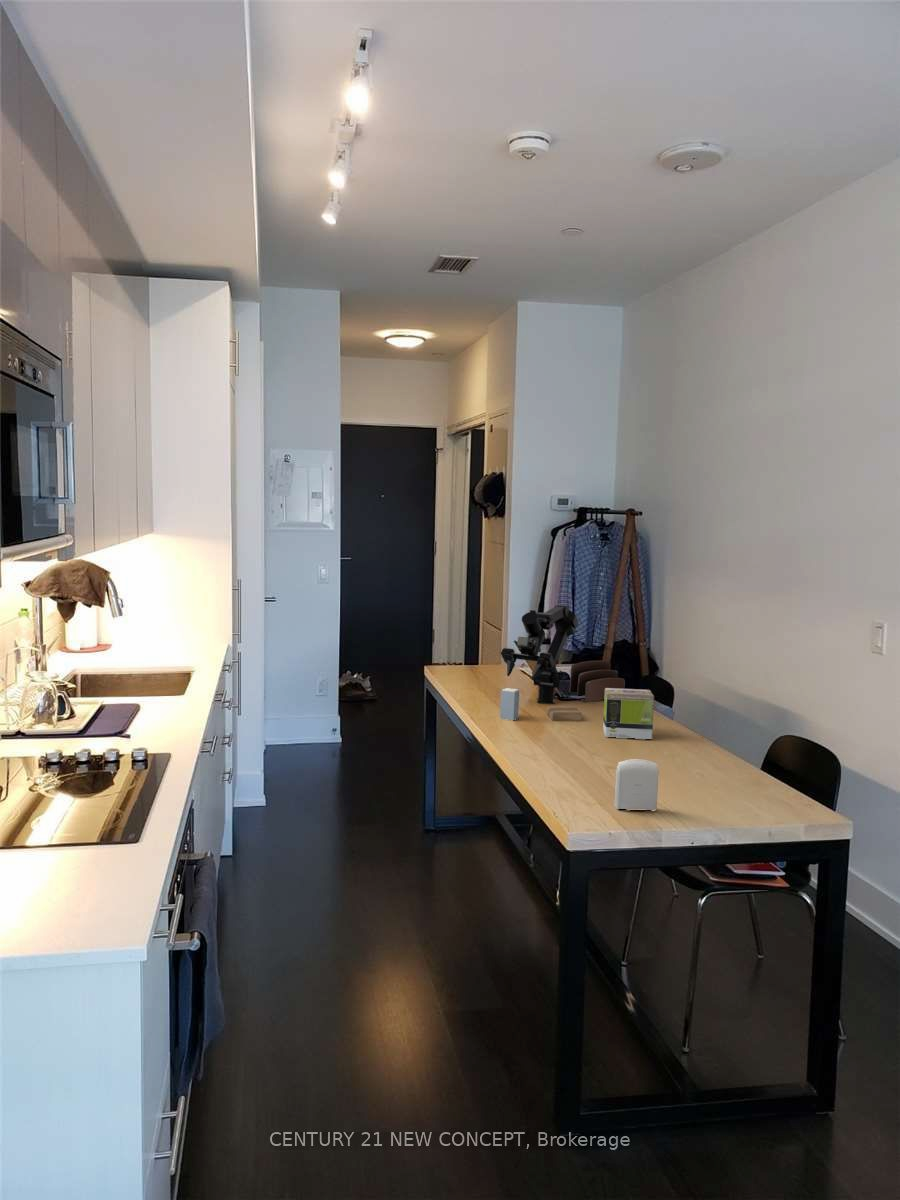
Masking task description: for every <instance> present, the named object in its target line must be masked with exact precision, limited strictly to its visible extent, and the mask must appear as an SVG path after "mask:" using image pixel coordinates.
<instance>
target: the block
mask: <svg viewBox="0 0 900 1200" xmlns="http://www.w3.org/2000/svg"><path fill="white" fill-rule="evenodd" d="M545 711H546V712H545V713H546V716H547V717H548V718H549V719H550V720H551V721H552V722H575V721H576V723H578V722H579V723H581V722H582V713H583V712H582V711H581V710H579V709H578V708H577V707H576V706H575V705H546V710H545Z"/></svg>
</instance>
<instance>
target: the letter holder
mask: <svg viewBox="0 0 900 1200" xmlns="http://www.w3.org/2000/svg"><path fill="white" fill-rule="evenodd" d="M611 666H612V665H611V662H610V660H609V661H608V660H601V659H600V660H588V661H587V660H586V661H581V662H577V663H576V662H575V663H573V664H572V665H571V667H570V674H569V675H570V678H569V679H570V680H569V691H568V692H577V696H582V695H585V698H580V699H581V700H582V701H581V703H594V702H595V703H596V702H601V701H600V700H603V699H604V695H605V688H620V689H626V688H625V686H626V685H625V684H626V680H625V678H622V677H618V671H617V670H613V669H611Z"/></svg>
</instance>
